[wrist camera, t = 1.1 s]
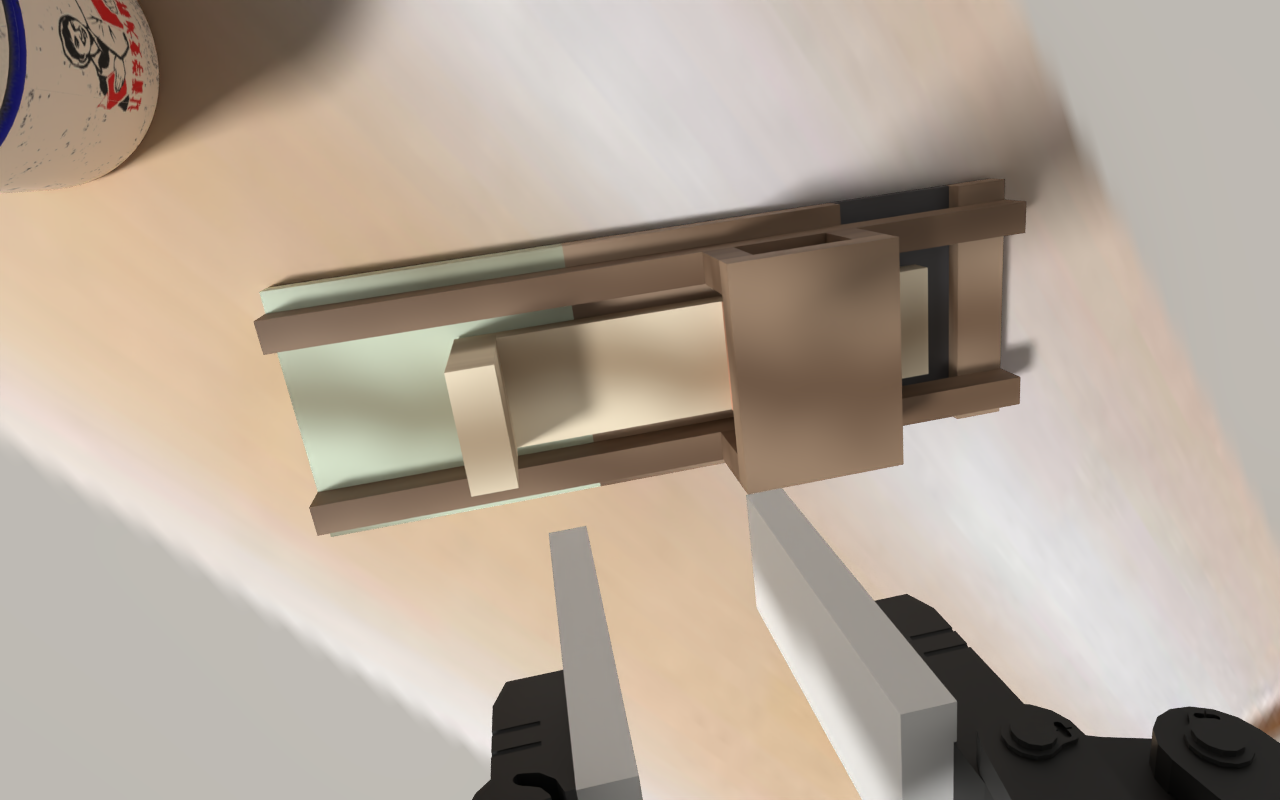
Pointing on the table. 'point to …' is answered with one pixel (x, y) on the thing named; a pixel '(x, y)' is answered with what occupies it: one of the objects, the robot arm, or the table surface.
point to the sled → (609, 376)
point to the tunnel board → (641, 278)
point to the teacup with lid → (72, 90)
